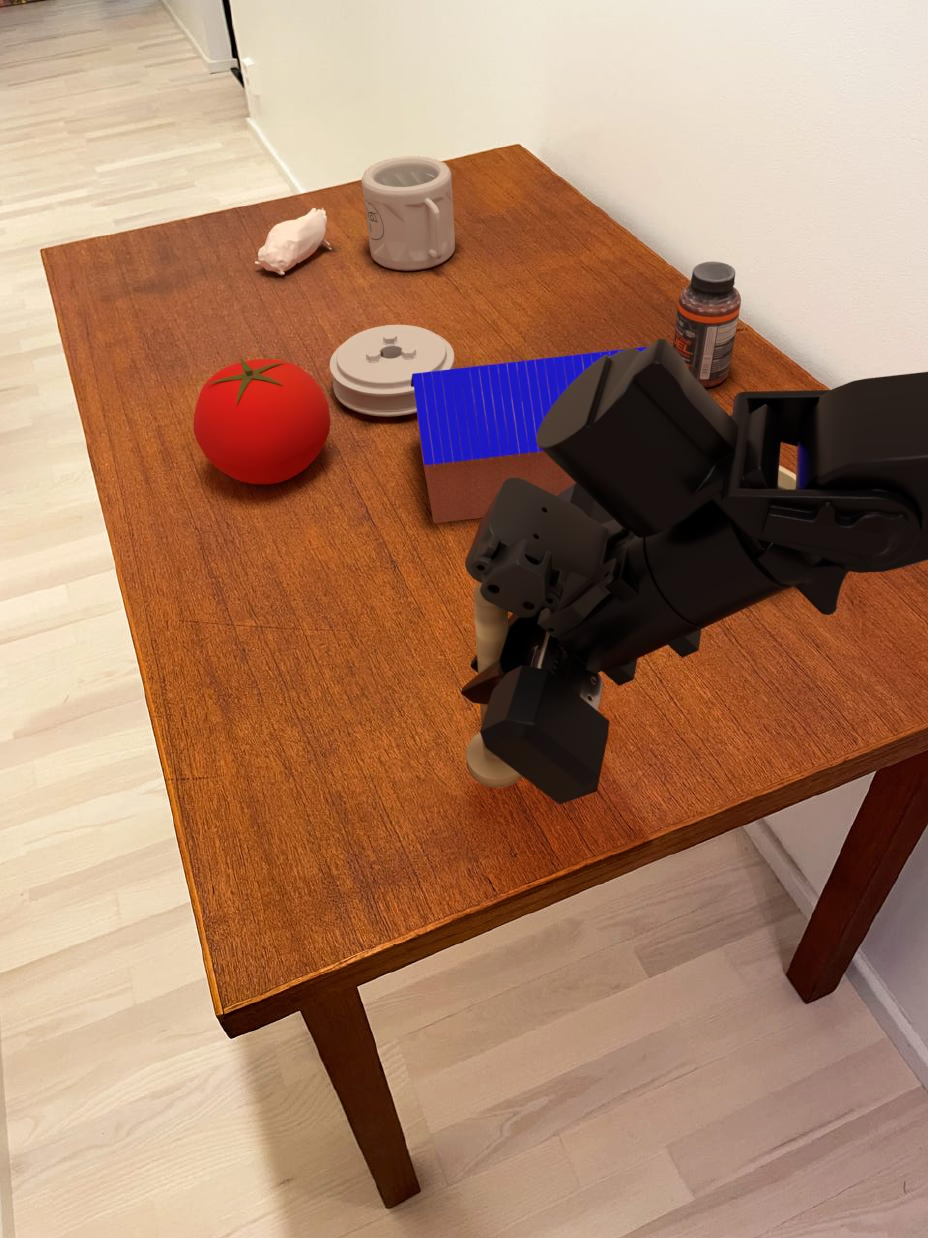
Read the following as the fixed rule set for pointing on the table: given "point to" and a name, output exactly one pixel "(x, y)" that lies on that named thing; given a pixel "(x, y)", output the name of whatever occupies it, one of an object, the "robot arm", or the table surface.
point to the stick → (478, 758)
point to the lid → (386, 368)
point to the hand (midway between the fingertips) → (471, 682)
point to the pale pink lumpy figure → (293, 241)
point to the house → (489, 429)
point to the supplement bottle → (708, 322)
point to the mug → (409, 212)
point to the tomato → (261, 420)
